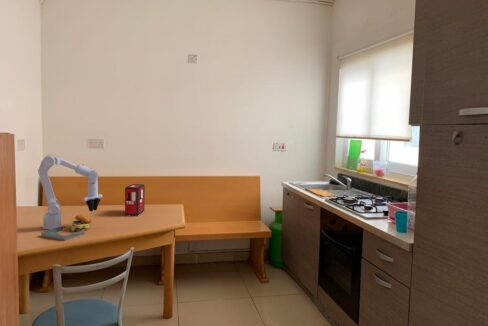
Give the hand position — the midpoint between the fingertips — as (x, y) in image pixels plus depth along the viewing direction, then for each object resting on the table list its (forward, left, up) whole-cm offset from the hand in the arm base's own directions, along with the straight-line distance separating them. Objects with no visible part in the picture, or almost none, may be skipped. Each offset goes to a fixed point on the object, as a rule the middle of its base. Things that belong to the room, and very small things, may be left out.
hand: (93, 210), depth 233 cm
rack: (0, -23, -9) cm, 25 cm away
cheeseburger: (0, -10, -10) cm, 14 cm away
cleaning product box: (+3, +39, -10) cm, 40 cm away
